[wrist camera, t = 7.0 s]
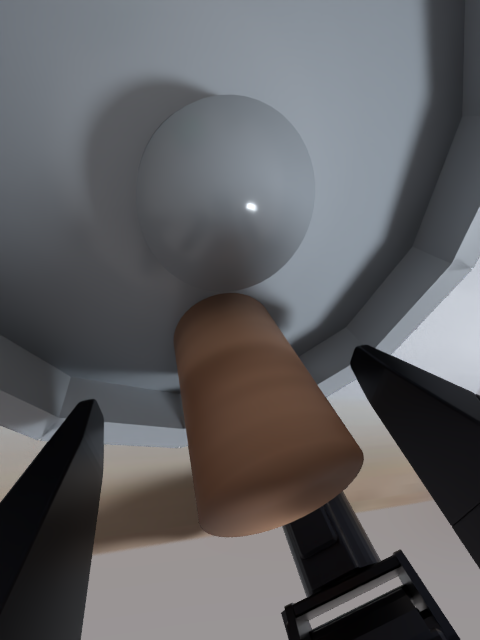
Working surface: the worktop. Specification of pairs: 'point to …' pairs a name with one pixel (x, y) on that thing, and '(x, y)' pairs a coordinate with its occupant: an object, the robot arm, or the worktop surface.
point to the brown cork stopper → (255, 421)
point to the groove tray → (224, 188)
